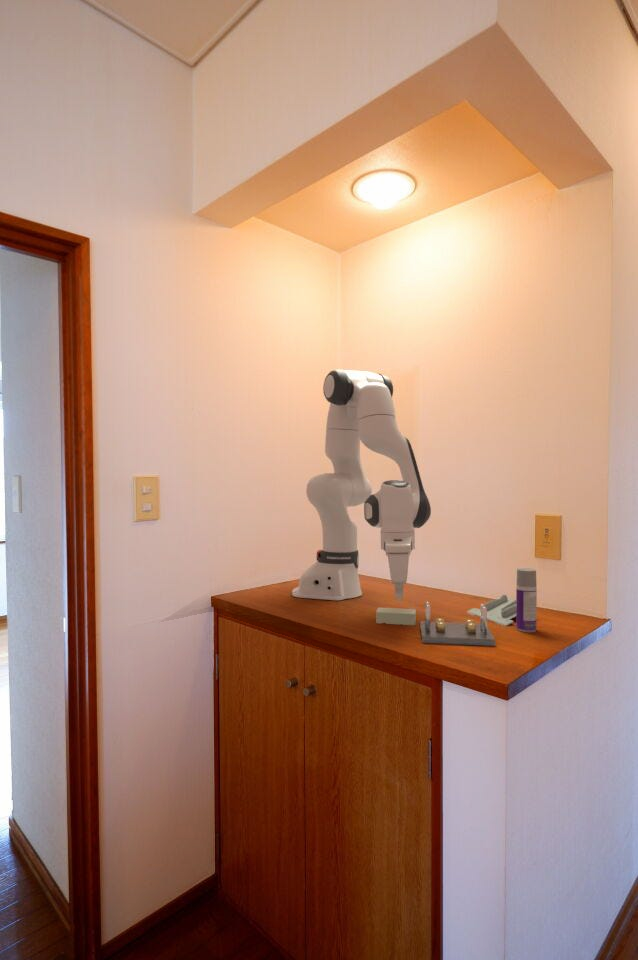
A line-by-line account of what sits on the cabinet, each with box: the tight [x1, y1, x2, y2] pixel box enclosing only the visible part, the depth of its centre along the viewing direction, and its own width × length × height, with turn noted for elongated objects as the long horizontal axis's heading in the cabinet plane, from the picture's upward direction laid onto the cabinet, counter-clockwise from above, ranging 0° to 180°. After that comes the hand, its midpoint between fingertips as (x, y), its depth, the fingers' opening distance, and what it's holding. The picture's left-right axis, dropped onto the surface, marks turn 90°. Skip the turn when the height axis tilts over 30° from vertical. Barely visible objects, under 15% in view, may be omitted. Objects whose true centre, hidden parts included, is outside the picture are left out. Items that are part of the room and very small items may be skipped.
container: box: [515, 567, 538, 633], centre depth 134 cm, size 5×5×15 cm
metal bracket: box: [466, 594, 516, 627], centre depth 146 cm, size 14×6×15 cm
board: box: [375, 607, 417, 626], centre depth 141 cm, size 10×5×3 cm, turn 79°
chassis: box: [419, 601, 496, 647], centre depth 128 cm, size 16×13×8 cm
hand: (399, 595), depth 141 cm, fingers open, 8 cm apart
